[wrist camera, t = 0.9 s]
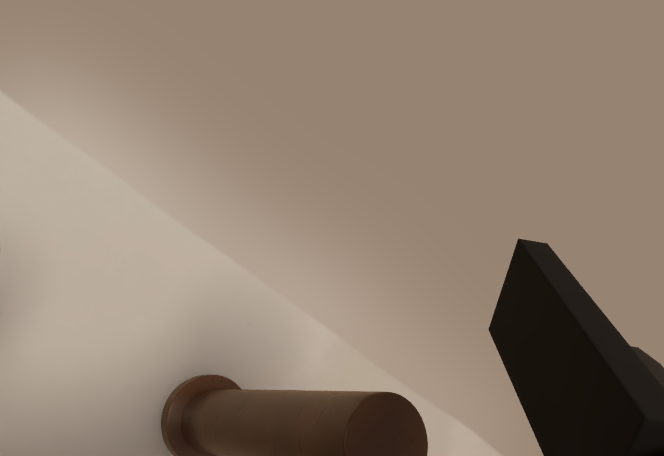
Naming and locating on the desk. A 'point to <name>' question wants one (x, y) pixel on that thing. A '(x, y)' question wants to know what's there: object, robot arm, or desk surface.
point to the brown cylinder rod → (288, 422)
